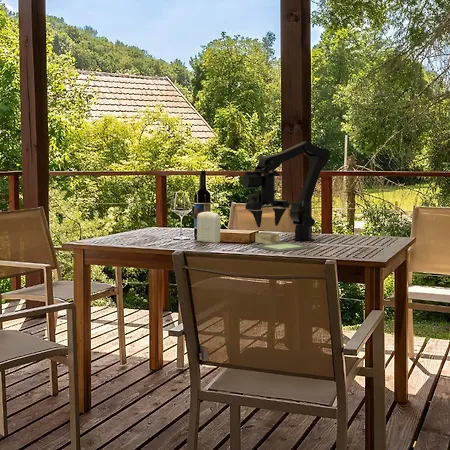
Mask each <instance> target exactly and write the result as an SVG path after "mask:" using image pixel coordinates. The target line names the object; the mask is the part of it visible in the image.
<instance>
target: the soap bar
mask: <svg viewBox="0 0 450 450" xmlns="http://www.w3.org/2000/svg"><path fill="white" fill-rule="evenodd" d="M196 224H197V225H196V241H197V242H204V243H214V244H218V243H220V242H221V216H220V214H218V213H217V212H213V211H202V212H199V213H198V214H197V217H196Z"/></svg>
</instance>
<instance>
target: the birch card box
mask: <svg viewBox="0 0 450 450" xmlns="http://www.w3.org/2000/svg"><path fill="white" fill-rule="evenodd" d="M254 235H255V236H254V237H255V240H254V242H255V243H259V244H262V245H267V244H276V243H280V233H274V232H268V231H267V232H266V231H264V232H263V231H262V232H255V234H254Z"/></svg>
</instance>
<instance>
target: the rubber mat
mask: <svg viewBox="0 0 450 450" xmlns="http://www.w3.org/2000/svg"><path fill="white" fill-rule="evenodd" d="M251 248H253V249H258V250H265V251H271V252H277V253H283V251H284V252H290V251H289V250H292V251H298V250H307V249H314V248H315V246H312V245H305V244H299V243H292V242H286V241H285V242H279V243H276V244H260V245H259V244H258V245H252V246H251Z"/></svg>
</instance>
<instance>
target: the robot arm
mask: <svg viewBox="0 0 450 450" xmlns="http://www.w3.org/2000/svg"><path fill="white" fill-rule="evenodd" d="M302 154H304V155H306V156H307V157H309V159H308V162H309V169H308V172H307V175H306V177H305V180H304V183H303V186H302V189H301V193H300V194H299V198H298V199H297V201H292V203H291V206H290V202H289V201H288V200H282V199H279V200H276V194H277V193H278V190H276V186H275V185H276V177H280V175H281V174H280V173H278V171H277V170H276V169H279V167H280V166H282V164H283V163H284V162H287V161H289V160H291V159H293V158H296V157H297V156H300V155H302ZM330 159H331V153H330V150H329V149H328V148H325V147H320V146H317V145H315V144H312V143H310V142H309V141H301V142H298V143H297V144H295V145H293V146H291V147H289V148H287V149H283V150H282V151H280V152H277V153H274V154H269V155H264V156H263V155H262V156H261V157H260V158H259V159H258V163H257V164H256V166H255V168H254V169H253V171H248V170H246V171H244V174H243V176H242V179H241V184H242V187H243V188H244V189H247V190H248V189H258V191H257V194H255V193H249V194H248V195H247V199H248V202H247V201H246V203H245V210H247V211H248V212H250V213H251V215H252V216H253V217H254V221H255V224H256V226H257V228H261V225H262V219H263V218H262V217H263V210H262V209H264V208H272V210H273V212H274V226H276V227H277V226H279V223H280V221H281V219H282V217H283V215H284V214H285V212H286V211H287V210H288V208H290V209H289V217H290V219H291V221H292V224H293V225H294V226H295V228H294V238H292V240H293V241H300V242H307V241H314V240H315V238H312V235H313V234H312V230H313V229H312V227H315V223H316V220H315V219H314V218H313V216H311V210H312V208H311V201H312V197H313V196H314V193H315V190H316V186H317V184H318V180H319V179H320V178H319V177H320V176H321V172H322V171H323V169H324V168H326V166H327V164H329V163H328V162H329V161H330ZM259 188H260V189H259Z"/></svg>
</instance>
